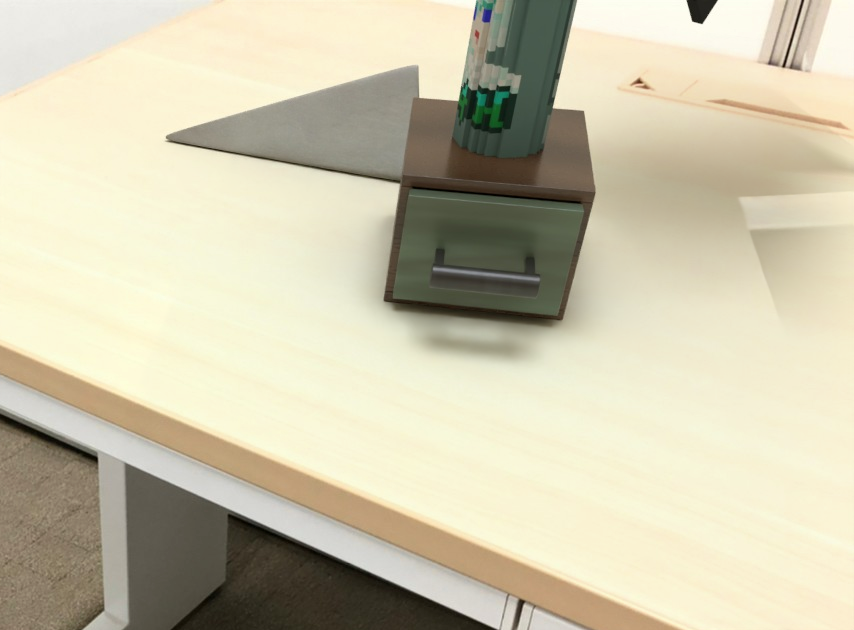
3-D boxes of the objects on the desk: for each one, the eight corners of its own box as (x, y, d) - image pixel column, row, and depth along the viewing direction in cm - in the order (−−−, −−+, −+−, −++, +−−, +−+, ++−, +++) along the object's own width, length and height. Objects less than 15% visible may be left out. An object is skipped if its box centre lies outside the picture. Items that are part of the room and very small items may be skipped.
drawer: (559, 347, 84) (587, 240, 79) (388, 328, 86) (405, 223, 81) (551, 231, 97) (574, 133, 92) (402, 217, 99) (417, 120, 94)
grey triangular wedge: (152, 177, 106) (423, 143, 101) (154, 98, 108) (418, 61, 103) (175, 241, 115) (424, 213, 110) (176, 167, 118) (420, 136, 112)
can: (443, 125, 91) (482, -101, 81) (524, 122, 91) (572, -104, 81) (470, 159, 86) (514, -77, 76) (555, 155, 86) (610, -80, 77)
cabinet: (562, 320, 88) (596, 191, 82) (383, 301, 90) (402, 174, 84) (555, 229, 99) (584, 110, 93) (395, 214, 101) (413, 97, 95)
